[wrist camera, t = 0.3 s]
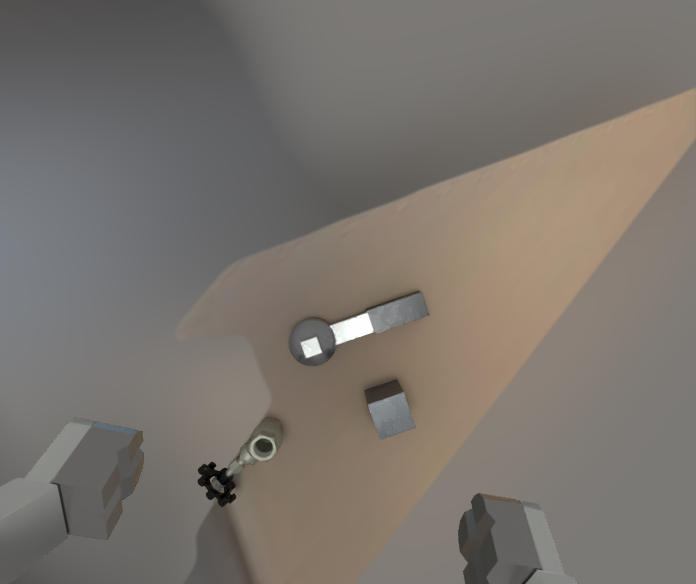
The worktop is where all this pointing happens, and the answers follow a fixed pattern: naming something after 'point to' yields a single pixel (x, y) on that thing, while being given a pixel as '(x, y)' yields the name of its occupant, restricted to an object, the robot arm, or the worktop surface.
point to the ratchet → (352, 328)
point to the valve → (242, 460)
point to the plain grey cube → (389, 409)
